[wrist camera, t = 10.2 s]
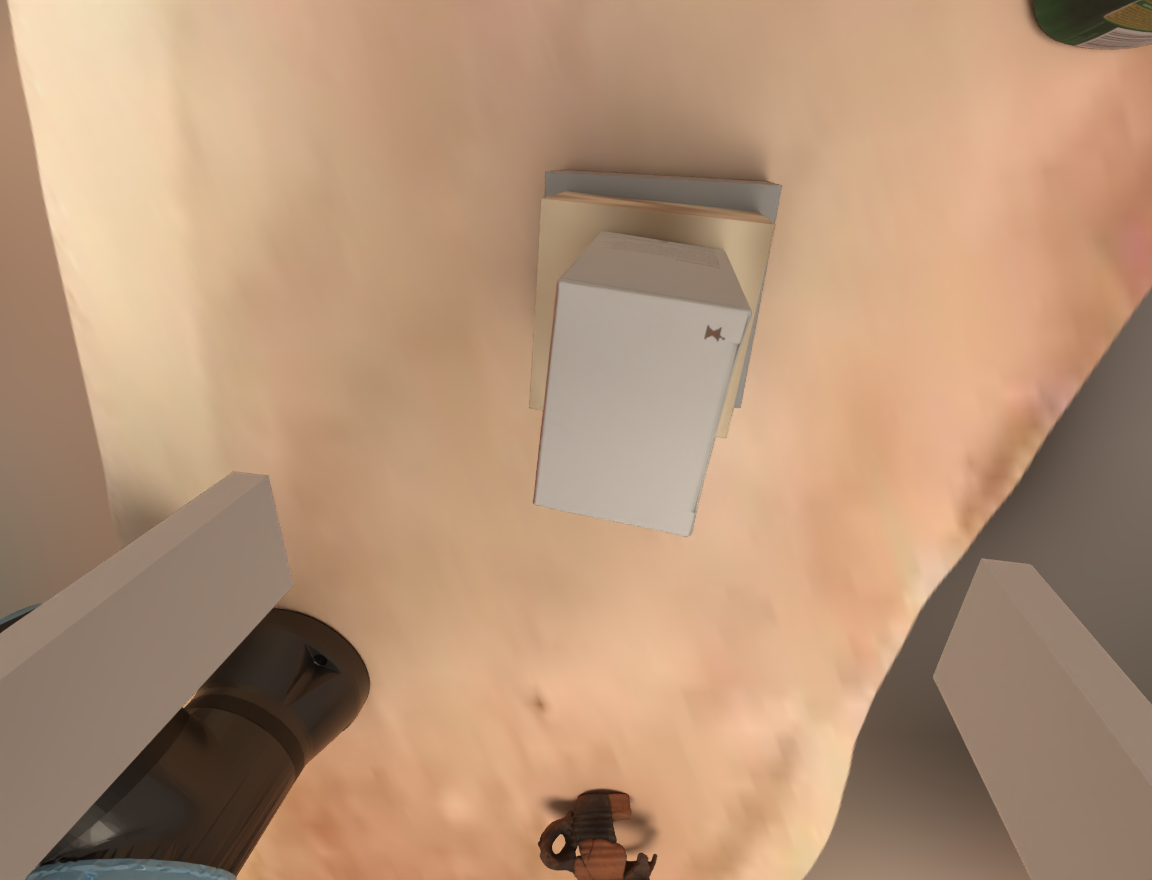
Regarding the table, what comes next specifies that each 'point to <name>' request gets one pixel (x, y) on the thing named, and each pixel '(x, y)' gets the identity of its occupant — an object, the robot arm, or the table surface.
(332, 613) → the table surface
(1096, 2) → the coffee jar
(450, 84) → the table surface
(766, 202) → the block base
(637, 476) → the small box
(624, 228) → the block top
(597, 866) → the pottery mug
